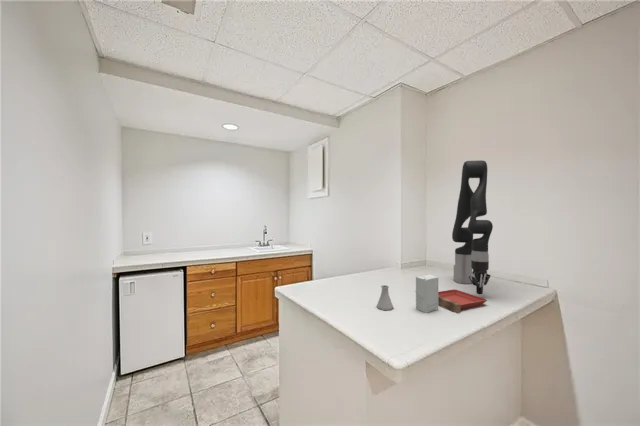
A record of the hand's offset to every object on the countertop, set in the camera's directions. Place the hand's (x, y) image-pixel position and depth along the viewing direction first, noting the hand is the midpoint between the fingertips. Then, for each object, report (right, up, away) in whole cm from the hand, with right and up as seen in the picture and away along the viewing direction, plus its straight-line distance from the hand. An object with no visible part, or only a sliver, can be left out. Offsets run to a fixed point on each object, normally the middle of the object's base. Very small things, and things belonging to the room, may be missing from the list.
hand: (479, 293), depth 135 cm
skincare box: (-33, -3, -15) cm, 36 cm away
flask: (-51, -3, -13) cm, 53 cm away
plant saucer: (-15, -3, -6) cm, 16 cm away
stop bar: (-24, -2, -10) cm, 26 cm away
